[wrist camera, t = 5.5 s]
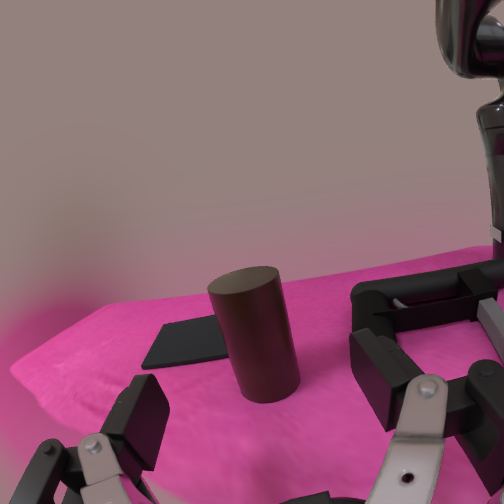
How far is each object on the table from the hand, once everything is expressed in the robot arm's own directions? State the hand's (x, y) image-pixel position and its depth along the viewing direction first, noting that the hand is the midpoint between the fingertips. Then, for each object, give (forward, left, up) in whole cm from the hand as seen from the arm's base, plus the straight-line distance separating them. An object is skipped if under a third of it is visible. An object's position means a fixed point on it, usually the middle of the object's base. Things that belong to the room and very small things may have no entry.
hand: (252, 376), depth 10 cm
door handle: (-17, -8, -8) cm, 20 cm away
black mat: (+8, -18, -8) cm, 22 cm away
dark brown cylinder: (0, -8, -8) cm, 11 cm away
